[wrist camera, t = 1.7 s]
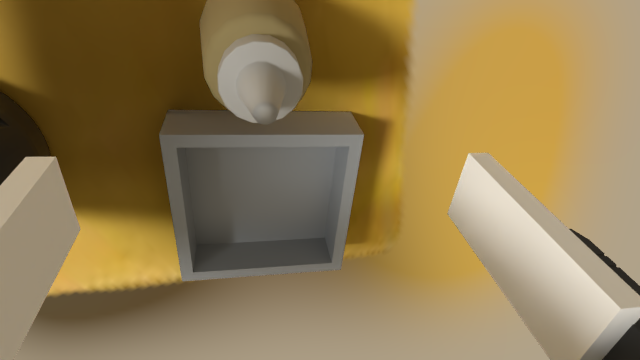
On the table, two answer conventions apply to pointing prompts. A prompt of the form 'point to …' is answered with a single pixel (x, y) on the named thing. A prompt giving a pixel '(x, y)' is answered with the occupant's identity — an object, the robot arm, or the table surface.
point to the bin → (259, 191)
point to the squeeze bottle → (255, 56)
